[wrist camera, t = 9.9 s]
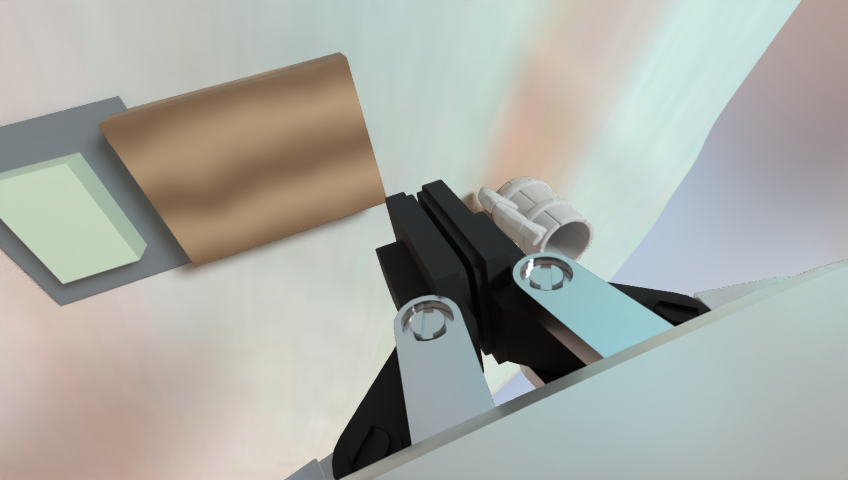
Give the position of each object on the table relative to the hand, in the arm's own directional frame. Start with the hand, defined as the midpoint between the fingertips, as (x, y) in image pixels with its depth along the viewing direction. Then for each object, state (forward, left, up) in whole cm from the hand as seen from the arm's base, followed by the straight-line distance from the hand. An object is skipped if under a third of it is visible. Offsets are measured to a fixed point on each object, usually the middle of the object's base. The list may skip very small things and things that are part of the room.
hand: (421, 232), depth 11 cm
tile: (+5, -22, -25) cm, 34 cm away
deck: (+5, -7, -27) cm, 28 cm away
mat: (+5, -22, -27) cm, 35 cm away
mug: (+18, +16, -27) cm, 36 cm away
